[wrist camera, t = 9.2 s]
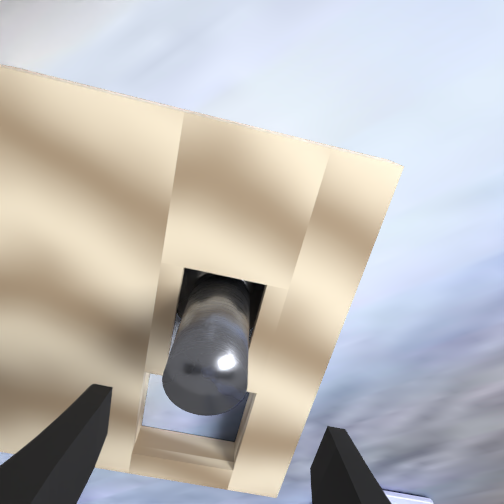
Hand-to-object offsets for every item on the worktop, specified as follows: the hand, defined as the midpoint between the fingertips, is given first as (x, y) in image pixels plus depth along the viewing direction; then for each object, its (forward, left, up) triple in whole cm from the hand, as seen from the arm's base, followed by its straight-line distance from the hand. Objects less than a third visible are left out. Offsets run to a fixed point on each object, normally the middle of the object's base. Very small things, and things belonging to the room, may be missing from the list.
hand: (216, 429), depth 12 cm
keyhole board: (-2, +3, -9) cm, 10 cm away
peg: (0, +1, -9) cm, 9 cm away
